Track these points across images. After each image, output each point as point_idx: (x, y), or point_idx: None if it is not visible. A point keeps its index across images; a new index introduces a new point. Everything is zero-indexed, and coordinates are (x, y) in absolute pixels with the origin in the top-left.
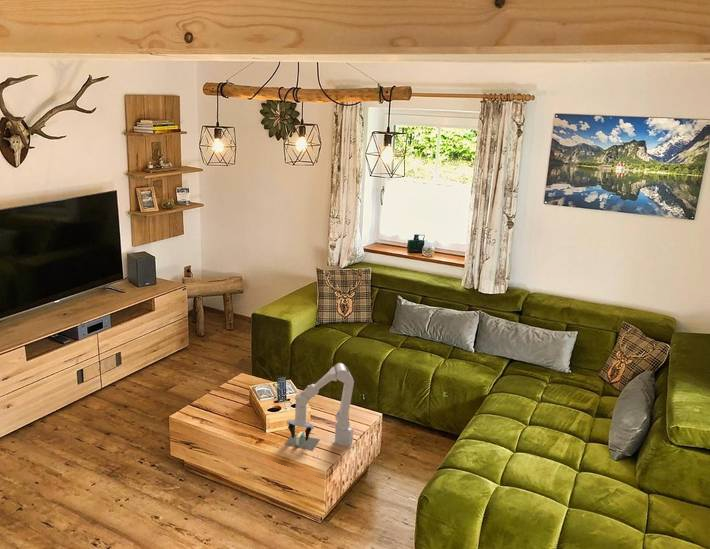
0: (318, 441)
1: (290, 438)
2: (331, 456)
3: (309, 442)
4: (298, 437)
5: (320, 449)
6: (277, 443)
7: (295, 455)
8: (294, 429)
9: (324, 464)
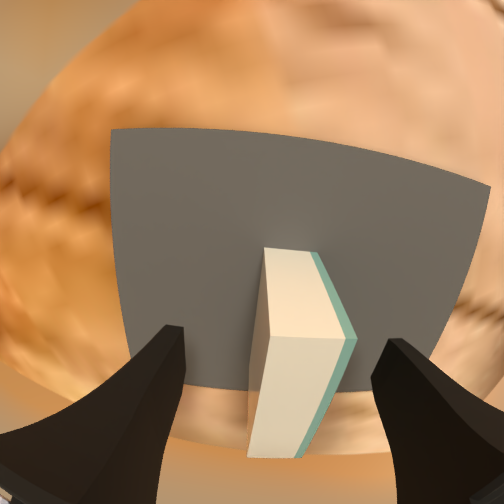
0: (477, 233)
1: (132, 255)
2: (500, 364)
3: (395, 279)
4: (283, 456)
5: (468, 328)
6: (74, 339)
7: None
8: (142, 420)
9: None
